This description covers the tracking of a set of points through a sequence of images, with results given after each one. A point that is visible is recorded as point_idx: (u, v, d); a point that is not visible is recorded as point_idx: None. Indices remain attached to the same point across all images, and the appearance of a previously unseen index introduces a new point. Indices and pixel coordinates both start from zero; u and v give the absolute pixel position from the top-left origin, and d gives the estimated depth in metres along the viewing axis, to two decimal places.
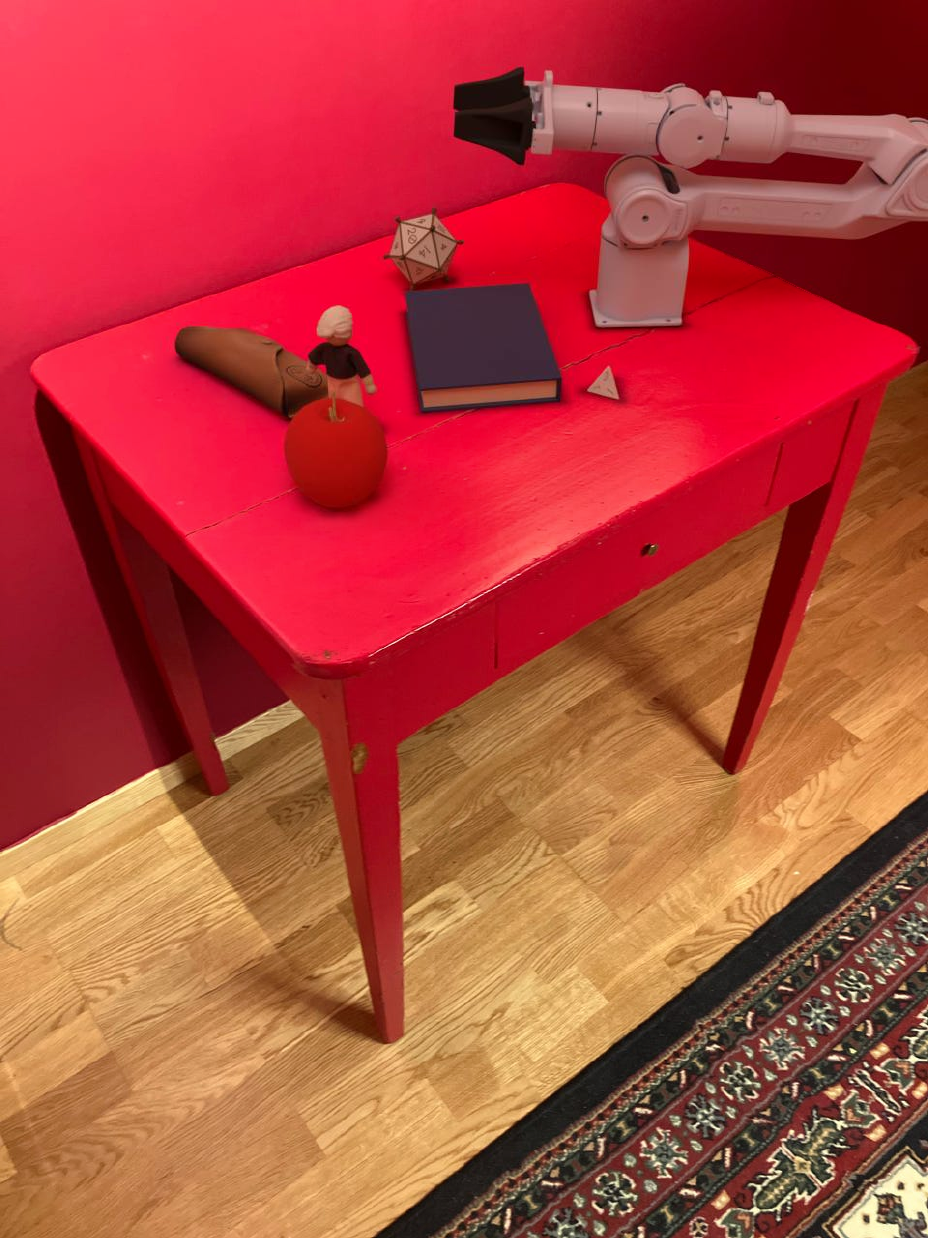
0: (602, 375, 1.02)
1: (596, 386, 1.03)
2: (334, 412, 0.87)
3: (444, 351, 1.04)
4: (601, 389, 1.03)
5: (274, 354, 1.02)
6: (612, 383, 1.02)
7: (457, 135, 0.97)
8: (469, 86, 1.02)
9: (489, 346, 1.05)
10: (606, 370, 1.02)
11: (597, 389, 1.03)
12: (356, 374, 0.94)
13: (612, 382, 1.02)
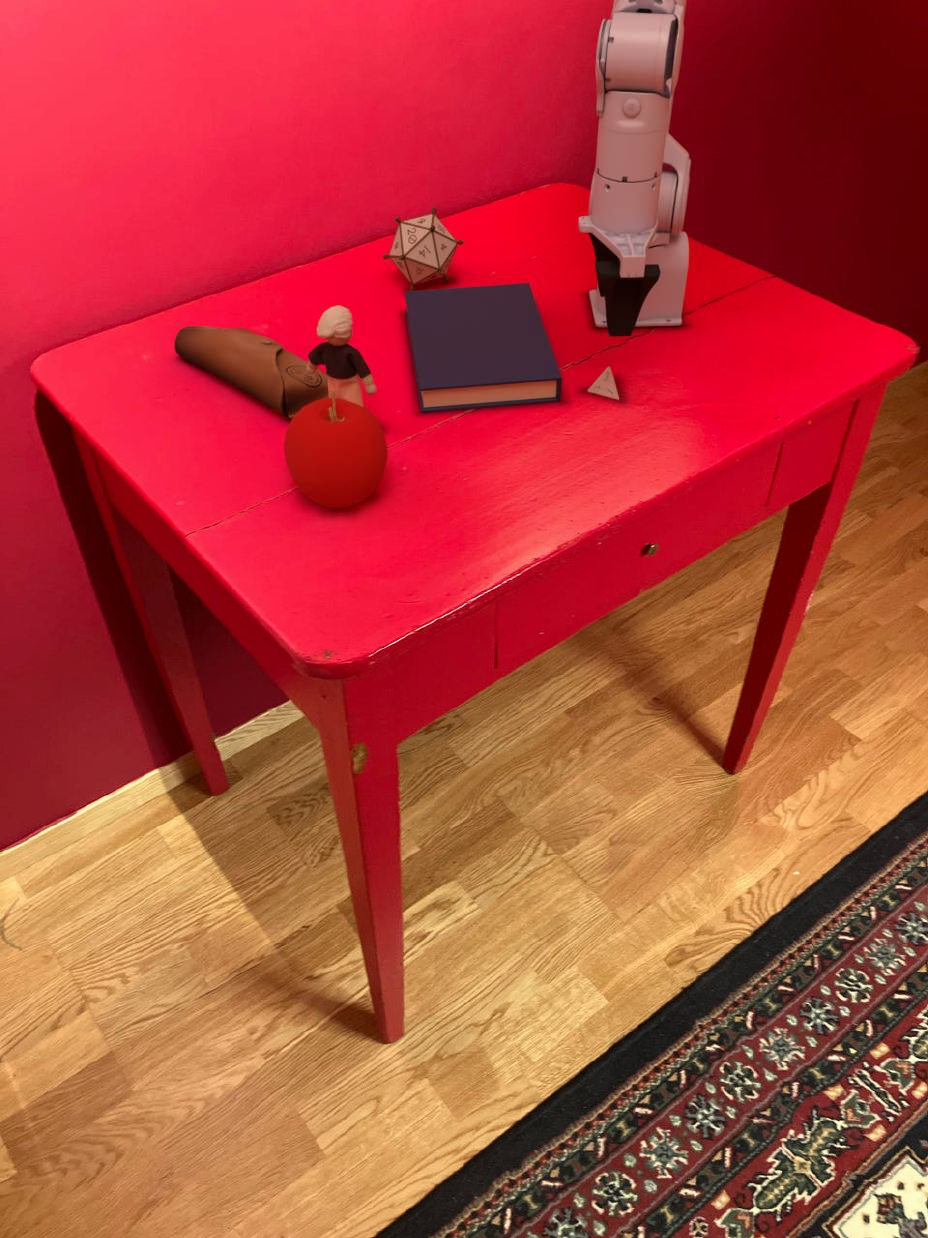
0: (602, 376, 1.02)
1: (596, 386, 1.03)
2: (334, 412, 0.87)
3: (444, 351, 1.04)
4: (601, 389, 1.02)
5: (274, 354, 1.02)
6: (612, 383, 1.02)
7: (629, 332, 0.95)
8: (599, 282, 0.99)
9: (489, 346, 1.05)
10: (606, 370, 1.02)
11: (597, 389, 1.03)
12: (356, 374, 0.94)
13: (612, 382, 1.02)
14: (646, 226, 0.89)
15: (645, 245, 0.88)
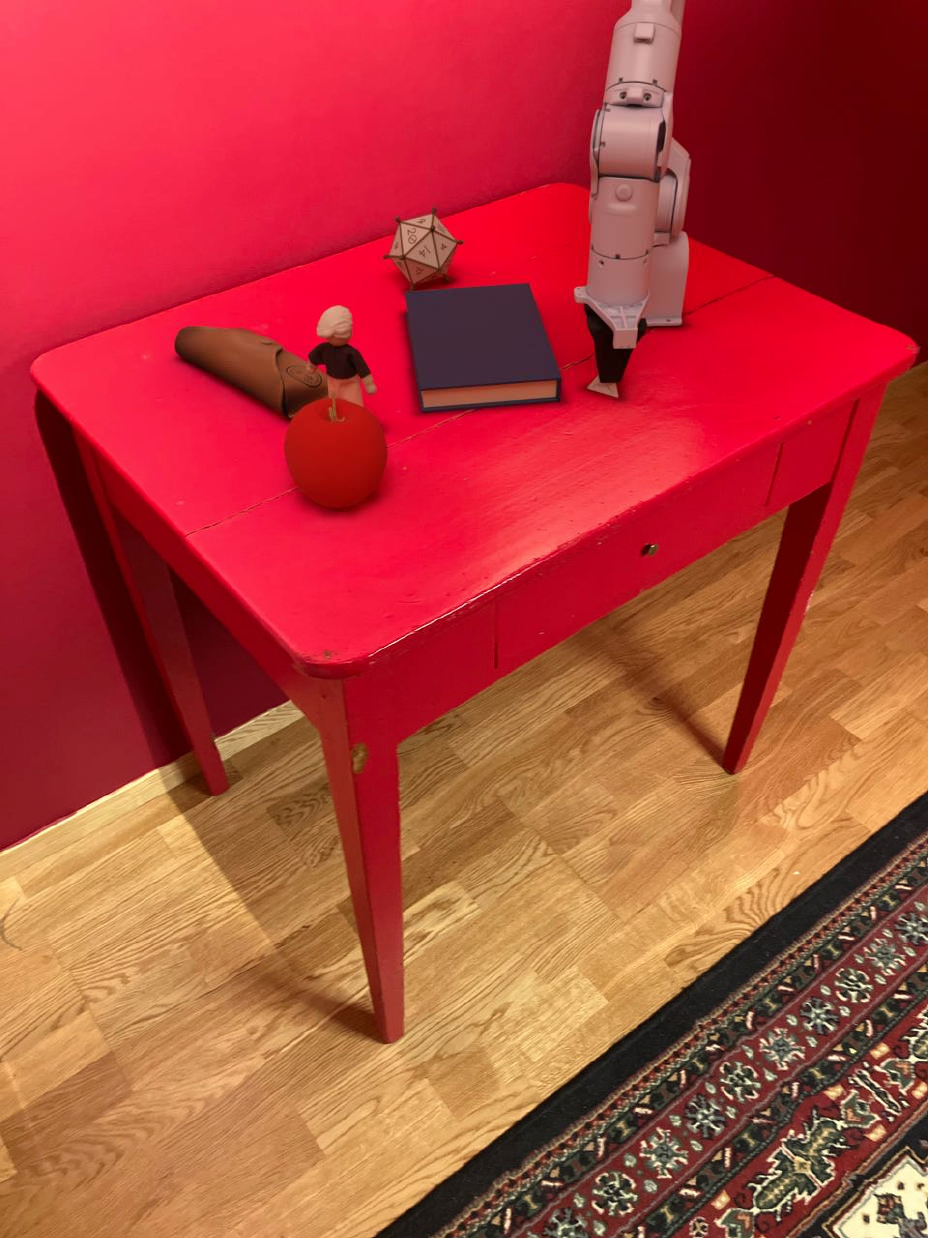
0: None
1: (596, 384, 1.03)
2: (334, 412, 0.87)
3: (444, 351, 1.04)
4: (601, 387, 1.03)
5: (274, 354, 1.02)
6: None
7: (619, 379, 1.01)
8: None
9: (489, 346, 1.05)
10: None
11: (597, 387, 1.03)
12: (356, 374, 0.94)
13: None
14: (638, 298, 0.94)
15: (637, 318, 0.92)
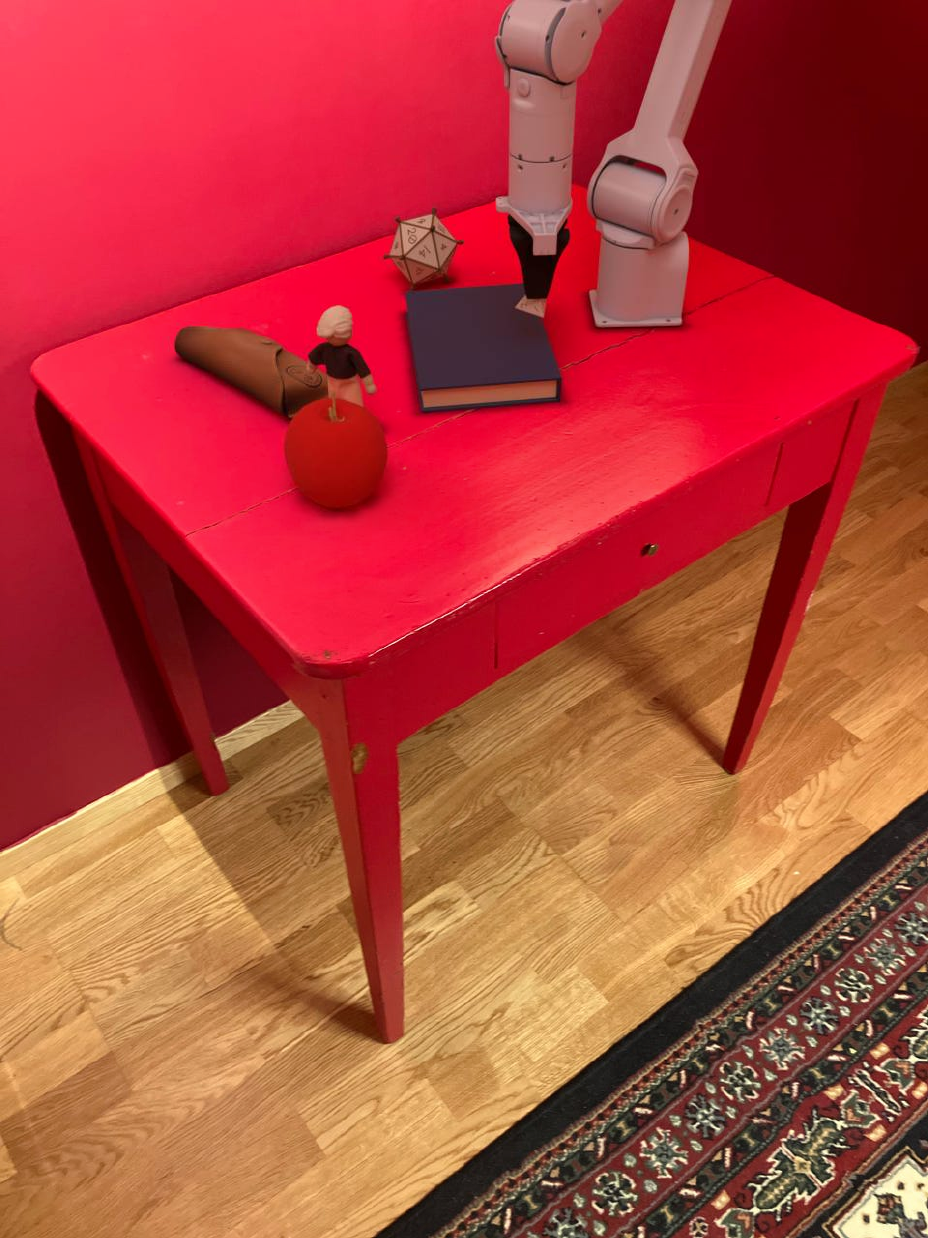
0: None
1: (523, 303, 1.01)
2: (334, 412, 0.87)
3: (444, 351, 1.04)
4: (528, 306, 1.01)
5: (274, 354, 1.02)
6: (538, 300, 1.00)
7: (545, 295, 1.00)
8: None
9: (489, 346, 1.05)
10: None
11: (524, 306, 1.01)
12: (356, 374, 0.94)
13: (538, 299, 1.00)
14: (559, 206, 0.92)
15: (557, 224, 0.91)
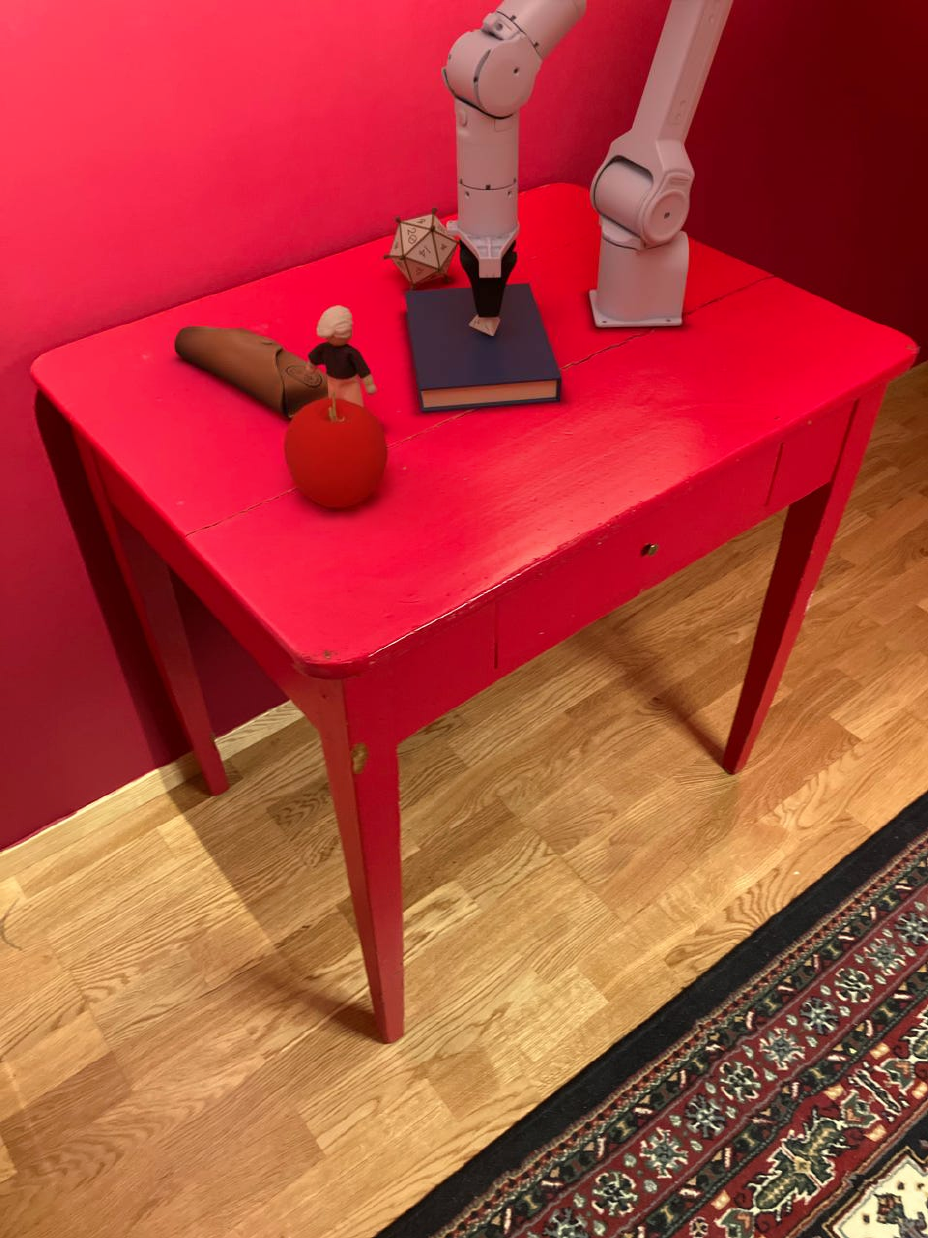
0: None
1: (476, 321, 1.06)
2: (334, 412, 0.87)
3: (444, 351, 1.04)
4: (480, 324, 1.06)
5: (274, 354, 1.02)
6: (488, 319, 1.05)
7: (496, 314, 1.04)
8: None
9: (489, 346, 1.05)
10: None
11: (477, 324, 1.06)
12: (356, 374, 0.94)
13: (489, 318, 1.05)
14: (506, 230, 0.97)
15: (502, 248, 0.95)
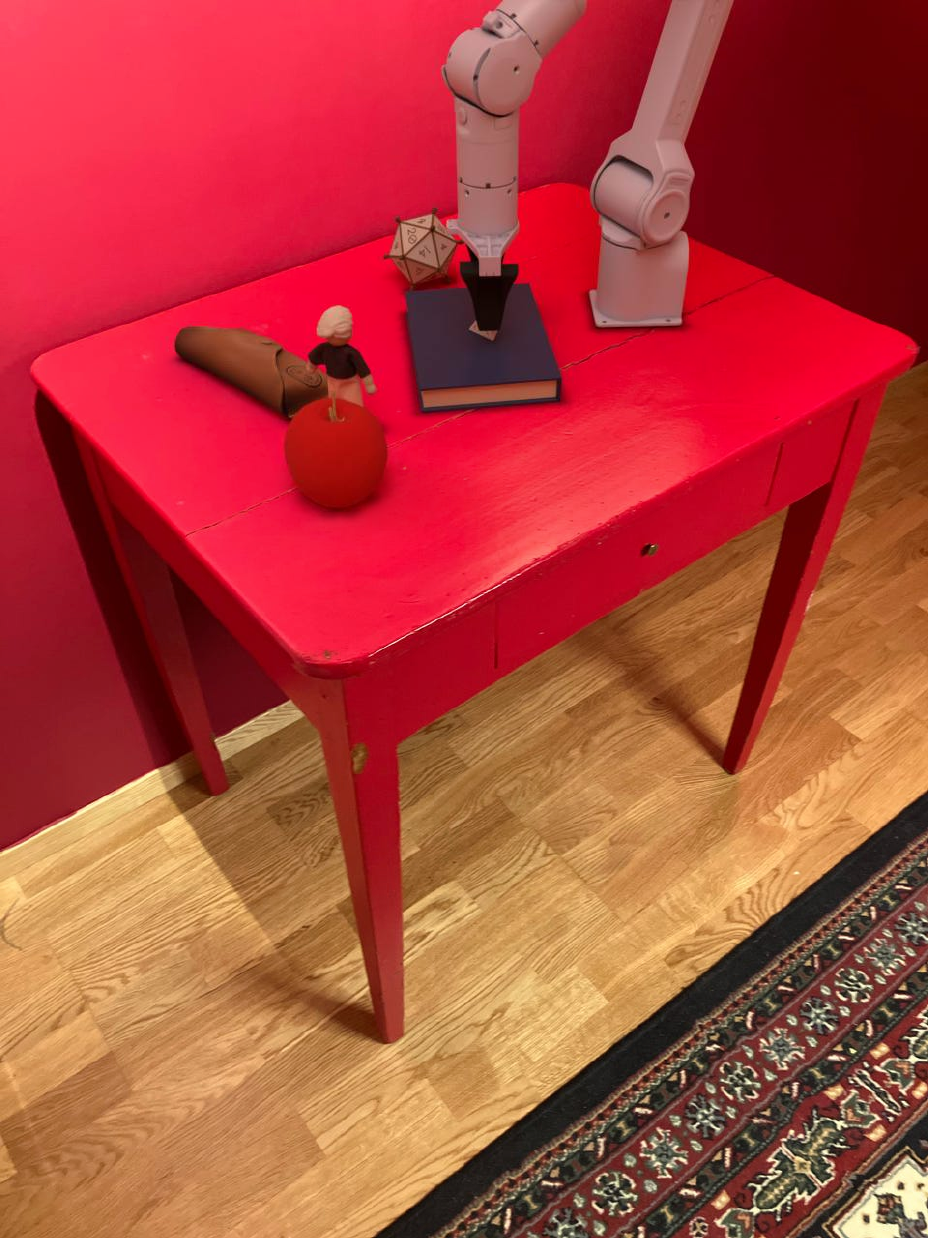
0: None
1: (476, 325, 1.06)
2: (334, 412, 0.87)
3: (444, 351, 1.04)
4: None
5: (274, 354, 1.02)
6: None
7: (497, 327, 1.02)
8: None
9: (489, 346, 1.05)
10: None
11: (477, 328, 1.06)
12: (356, 374, 0.94)
13: None
14: (506, 228, 0.97)
15: (502, 246, 0.95)
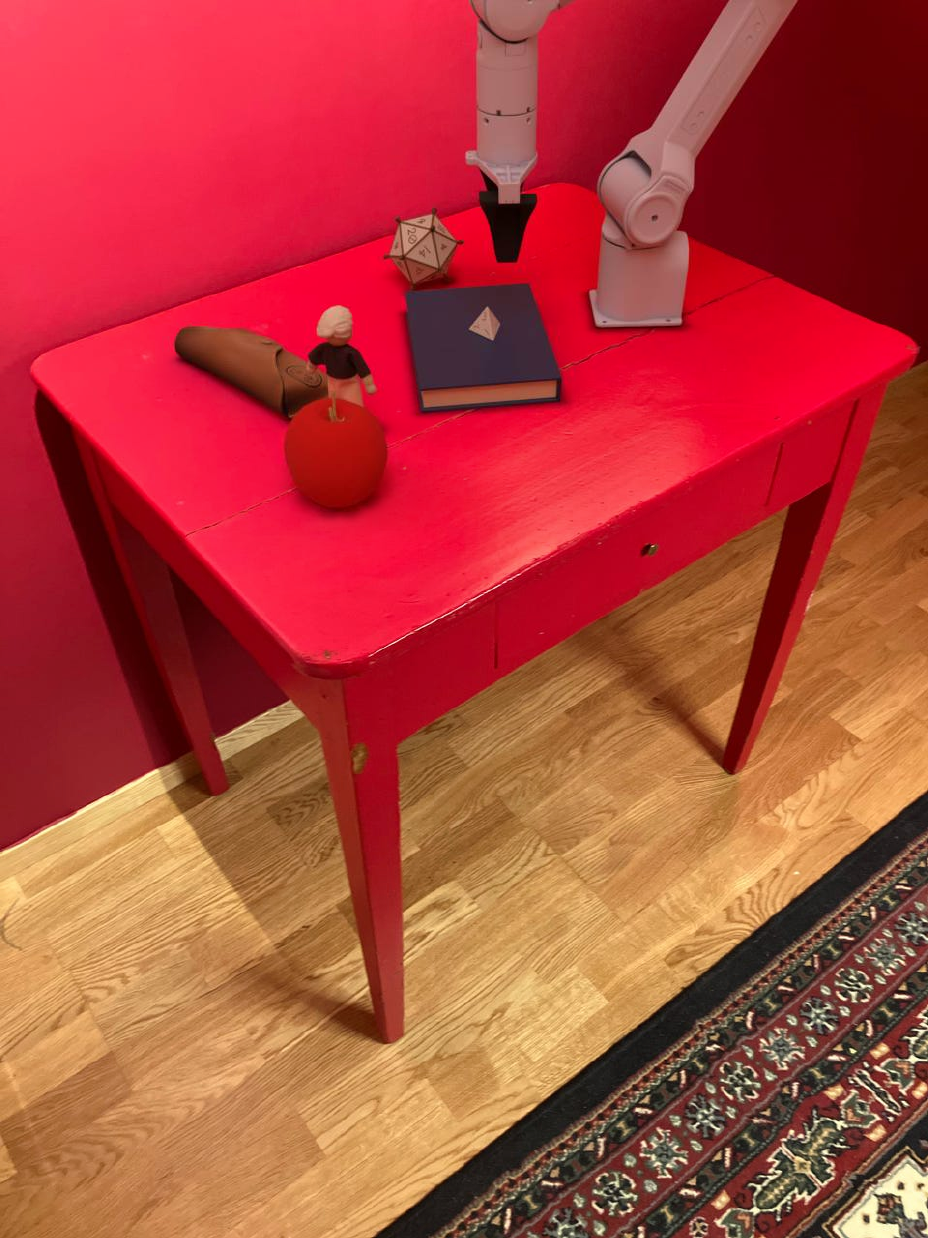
0: (481, 315, 1.05)
1: (476, 325, 1.06)
2: (334, 412, 0.87)
3: (444, 351, 1.04)
4: (480, 329, 1.06)
5: (274, 354, 1.02)
6: (488, 324, 1.05)
7: (515, 259, 1.03)
8: None
9: (489, 346, 1.05)
10: (485, 310, 1.05)
11: (477, 328, 1.06)
12: (356, 374, 0.94)
13: (489, 323, 1.05)
14: (524, 158, 0.98)
15: (521, 174, 0.96)
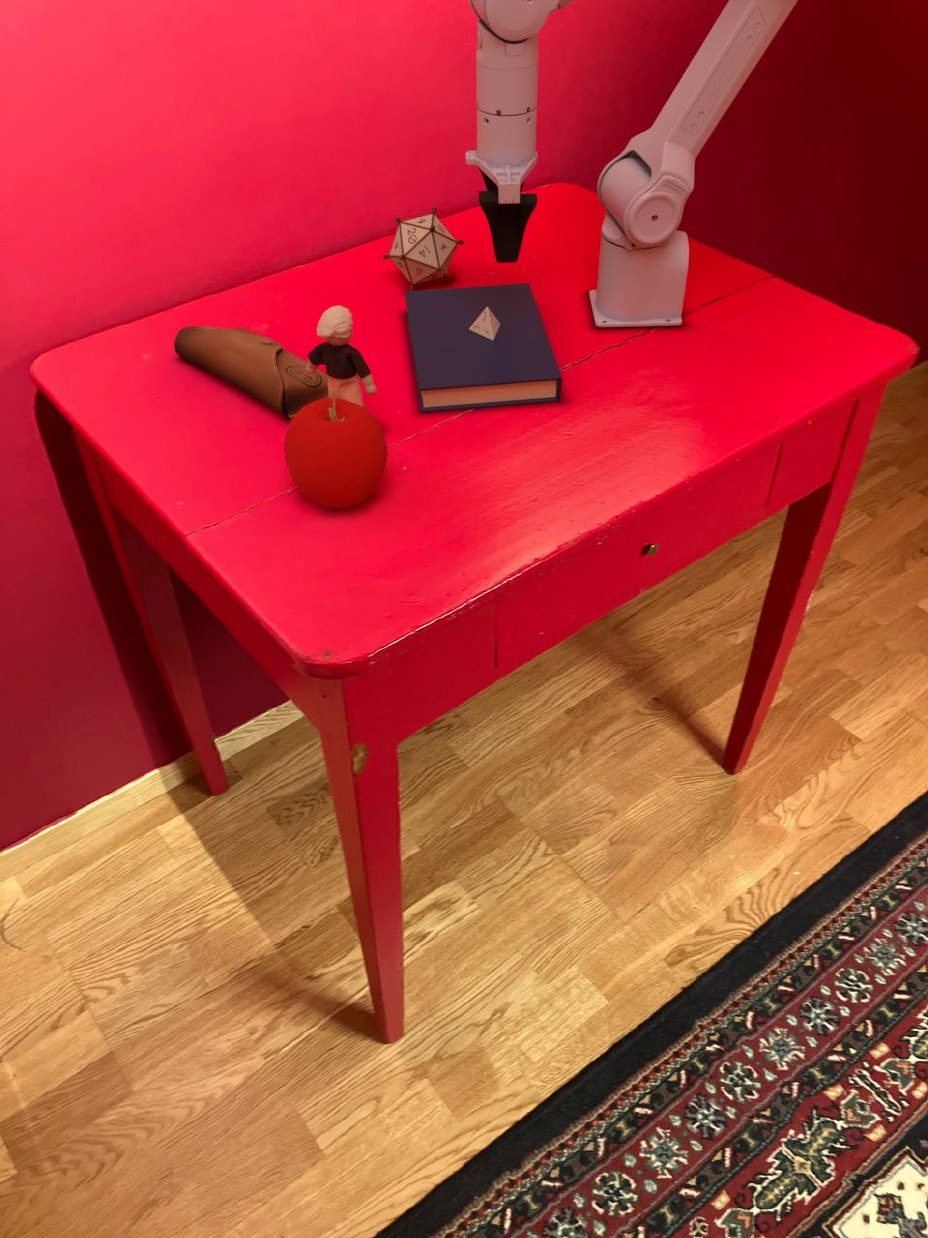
0: (481, 315, 1.05)
1: (476, 325, 1.06)
2: (334, 412, 0.87)
3: (444, 351, 1.04)
4: (480, 329, 1.06)
5: (274, 354, 1.02)
6: (488, 324, 1.05)
7: (515, 259, 1.03)
8: None
9: (489, 346, 1.05)
10: (485, 310, 1.05)
11: (477, 328, 1.06)
12: (356, 374, 0.94)
13: (489, 323, 1.05)
14: (524, 158, 0.98)
15: (521, 174, 0.96)
